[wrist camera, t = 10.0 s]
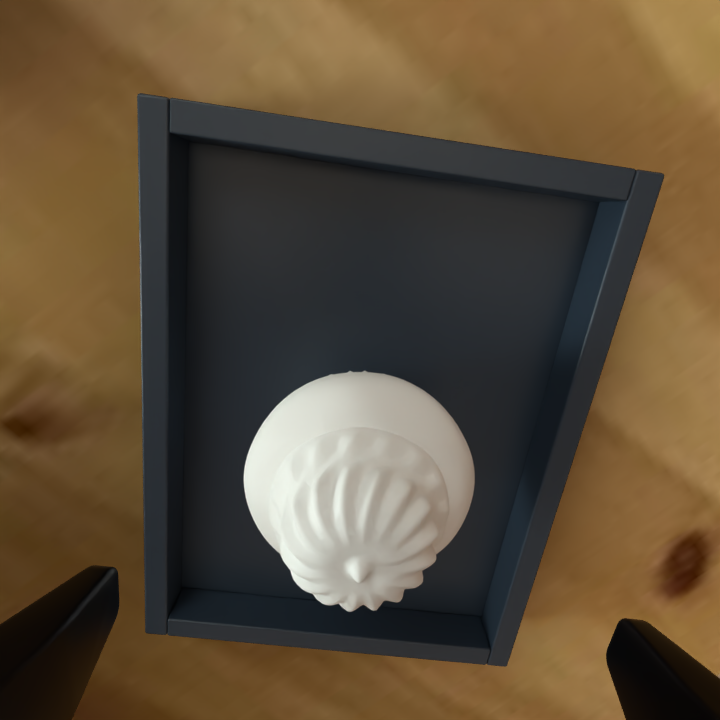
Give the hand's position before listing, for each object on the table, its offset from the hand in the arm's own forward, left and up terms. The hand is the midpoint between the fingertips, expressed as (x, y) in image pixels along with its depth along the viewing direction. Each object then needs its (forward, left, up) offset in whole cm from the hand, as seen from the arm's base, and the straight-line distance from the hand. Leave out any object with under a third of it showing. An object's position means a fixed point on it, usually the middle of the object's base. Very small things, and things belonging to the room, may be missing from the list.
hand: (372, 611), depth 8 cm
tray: (0, 0, -8) cm, 9 cm away
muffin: (0, 0, -8) cm, 8 cm away
